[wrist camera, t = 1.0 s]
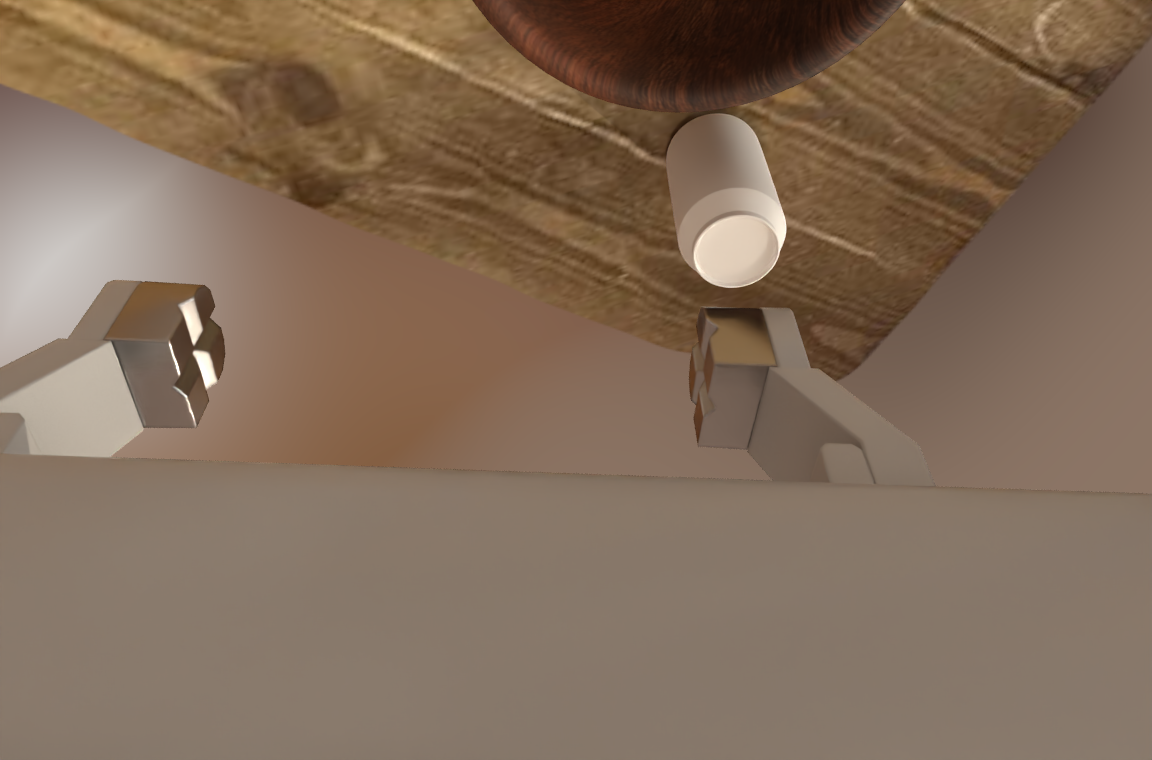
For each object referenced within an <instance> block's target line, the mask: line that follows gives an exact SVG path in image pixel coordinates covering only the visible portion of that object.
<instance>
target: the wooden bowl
mask: <svg viewBox="0 0 1152 760" xmlns="http://www.w3.org/2000/svg"><path fill="white" fill-rule="evenodd" d="M473 2H474V3H475V5H476V6H477V7H478V8H479V10H480V11H481V12H482V14H483V15H484V16H485V17H486V19H487V20H488V21H489V22H490V24H491V25H492V26H493V27H494V28H495V29H496V30H497V31H498V32H499V33H500V34H501V35H502V36H503V37H504V39H505V40H506V41H507V42H508V43H509V44H511V45H512V46H513V47H514V48H515V49H516V50H517V51H519V52H520V53H521V54H522V55H523V56H524V57H525V58H527V59H528V60H529V61H531V62H532V63H533V64H535V65H536V66H538V67H539V68H540V69H542V70H543V71H545V72H546V73H548V74H549V75H551V76H553V77H554V78H556V79H558V80H559V81H561V82H563V83H565V84H566V85H568V86H571V87H573V88H575V89H577V90H579V91H581V92H583V93H586V94H588V95H591V96H593V97H596V98H599V99H602V100H605V101H607V102H611V103H615V104H619V105H623V106H627V107H631V108H637V109H643V110H650V111H660V112H702V111H709V110H717V109H725V108H729V107H734V106H738V105H743V104H747V103H750V102H754V101H757V100H760V99H763V98H766V97H769V96H772V95H774V94H777V93H779V92H782V91H784V90H786V89H789V88H791V87H794V86H796V85H798V84H800V83H801V82H803V81H805V80H807V79H809V78H811V77H813V76H815V75H817V74H818V73H820V72H822V71H823V70H825V69H826V68H828V67H830V66H831V65H833V64H834V63H836V62H838V61H839V60H840V59H842V58H843V57H844V56H846V55H847V54H848V53H850V52H851V51H852V50H854V49H855V48H856V47H858V46H859V45H860V44H862V43H863V42H864V41H865V40H866V39H867V38H868V37H870V36H871V35H872V34H873V33H874V32H875V31H876V30H878V29H879V28H880V27H881V26H882V25H883V24H884V23H885V22H886V21H887V20H888V19H889V18H890V17H891V16H892V15H893V14H894V13H895V12H896V10H897V9H898V8H899V7H900V6H901V5H902V4H903V3H904V2H905V0H473Z"/></svg>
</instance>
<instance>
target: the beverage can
mask: <svg viewBox="0 0 1152 760" xmlns="http://www.w3.org/2000/svg"><path fill="white" fill-rule="evenodd" d="M666 168H667V176H668V182H669V189H670V195H671V201H672V208H673V214H674V220H675V226H676V232H677V239H678V244H679V249H680V252H681V254H682V256H683V258H684V260H685V261H686V262H687V264H688V265H689V266H690V267H691V268H693V269H694V270H695V271H697V272H698V273H699V274H700V276H701V277H702V278H704V279H705V280H706V281H708V282H710V283H712V284H714V285H717V286H720V287H727V288H735V287H742V286H746V285H749V284H752V283H754V282H756V281H758V280H759V279H761V278H762V277H764V276H765V275H766V274H767V273H768V272H769V271H770V270H771V269H772V268H773V266H774V265H775V263H776V261H777V259H778V256H779V252H780V249H781V247H782V245H783V243H784V240H785V235H786V221H785V217H784V214H783V211H782V208H781V205H780V202H779V199H778V196H777V193H776V190H775V187H774V184H773V181H772V178H771V175H770V172H769V169H768V166H767V163H766V160H765V157H764V155H763V152H762V149H761V146H760V143H759V141H758V138H757V136H756V134H755V133H754V131H753V130H752V129H751V127H750V126H749V125H748V124H747V123H745V122H744V121H742V120H741V119H739V118H737V117H735V116H732V115H728V114H720V113H716V114H707V115H703V116H700V117H697V118H695V119H693V120H691V121H690V122H688V123H687V124H685V125H684V126H683V127H682V128H681V129H680V130H679V131H678V132H677V133H676V134H675V136H674V137H673V139H672V140H671V142H670V145H669V147H668V151H667V156H666Z"/></svg>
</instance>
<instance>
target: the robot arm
mask: <svg viewBox="0 0 1152 760" xmlns="http://www.w3.org/2000/svg"><path fill="white" fill-rule="evenodd" d="M214 308H215V304H214V300H213V297H212V294H211V291H210V289H209V288H207V287H206V286H205V285H194V284H179V283H163V282H147V281H145V282H141V281H124V280H123V281H122V280H113V281H110V282H107V283H106V284H105V286H104V287H103V289H102V290H101V292H100V293H99V295H98V296H97V297H96V299H95V300H94V302H93V303H92V305H91V306H90V307H89V309H88V310H87V312H86V313H85V315H84V316H83V318H82V319H81V320H80V322H79V323H78V325H77V326H76V327H75V329H74V330H73V332H72V333H71V335H70V336H69V338H68V339H57V340H55V341H52V342H51V343H49V344H47V345H45V346H43V347H41V348H39V349H37V350H35V351H33V352H31V353H29V354H27V355H25V356H23V357H21V358H19V359H17V360H15V361H13V362H11V363H9V364H7V365H5V366H3V367H1V368H0V760H1152V494H1143V493H1118V492H1088V491H1087V492H1086V491H1057V490H1056V491H1055V490H1054V491H1053V490H1026V489H1025V490H1024V489H995V488H964V487H937V486H935V483H934V481H933V478H932V476H931V473H930V471H929V468H928V466H927V464H926V461H925V459H924V456H923V454H922V451H921V449H920V447H919V445H918V444H917V443H916V442H914V441H913V440H911V439H910V438H909V437H908V436H906V435H905V434H904V433H902V432H901V431H900V430H899V429H897V428H896V427H895V426H893V425H892V424H891V423H889V422H888V421H887V420H885V419H884V418H883V417H881V416H880V415H879V414H877V413H876V412H875V411H873V410H872V409H870V407H868V406H867V405H865V404H864V403H863V402H862V401H860V400H859V399H858V398H856V397H855V396H854V395H852V394H851V393H850V392H849V391H847V390H846V389H844V388H843V387H842V386H841V385H839V384H838V383H837V382H835V381H834V380H833V379H831V378H830V377H829V376H827V375H826V374H825V373H824V372H822V371H821V370H820V369H811V368H810V365H809V362H808V358H807V355H806V352H805V349H804V346H803V343H802V340H801V336H800V333H799V330H798V327H797V324H796V321H795V317H794V314H793V311H792V310H790V309H789V308H760V309H755V308H725V307H701V308H700V311H699V314H698V319H697V324H696V328H697V335H698V341H699V342H697V343H696V344H695V345H694V346H693V347H692V353H691V360H690V371H689V388H690V397H691V401H692V402H693V403H694V404H695V405H696V409H695V414H694V424H695V430H696V437H697V443H698V446H700V447H714V448H731V449H747V450H748V451H747V452H748V453H749V454H750V455H751V456H752V457H753V459H754V460H755V461H756V462H757V463H758V464H759V465H760V467H761V468H762V469H763V470H764V471H765V472H766V473H767V475H768V476H769V477H770V478H771V479H772V480H773V481H770V480H742V479H715V478H713V479H712V478H687V477H658V476H630V475H628V476H627V475H601V474H599V475H598V474H570V473H543V472H514V471H486V470H458V469H457V470H456V469H430V468H429V469H428V468H401V467H400V468H399V467H373V466H371V467H370V466H345V465H316V464H287V463H260V462H231V461H203V460H202V461H201V460H175V459H147V458H117V457H111V456H112V455H113V454H114V453H116V452H117V451H118V450H119V449H121V448H122V447H123V446H124V445H126V444H127V443H128V442H129V441H131V440H132V439H133V438H135V437H136V436H137V435H138V434H140V433H141V432H142V431H143V430H144V428H197V426H198V424H199V421H200V419H201V417H202V415H203V413H204V411H205V409H206V406H207V404H208V402H209V398H208V394H207V391H206V389H208V388H209V387H211V386H213V385H214V384H216V383H217V382H218V380H219V378H220V375H221V373H222V371H223V364H224V358H225V345H224V338H223V334H222V330H221V327H219V326H218V325H217V324H216V323H215V322H214V321H213V320H212V319H211V318H210V316H211V314H212V312H213V310H214Z"/></svg>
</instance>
